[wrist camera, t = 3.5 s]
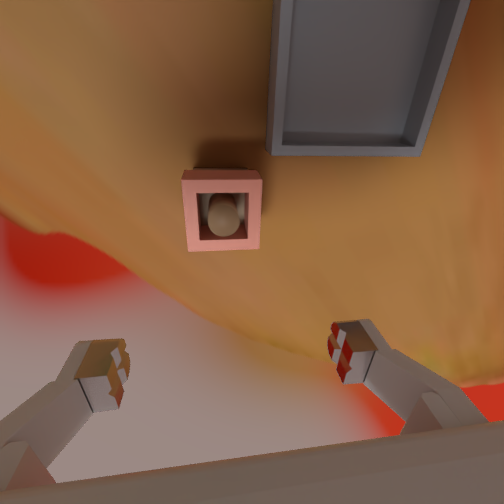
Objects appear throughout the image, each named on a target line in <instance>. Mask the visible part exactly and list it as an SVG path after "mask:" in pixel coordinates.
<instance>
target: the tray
mask: <svg viewBox="0 0 504 504" xmlns="http://www.w3.org/2000/svg"><path fill="white" fill-rule="evenodd" d="M470 1H471V0H273V10H272V29H271V49H270V68H269V87H268V107H267V126H266V146H265V150H266V151H267V152H268V153H269V154H270V155H271V156H414V157H420V155H421V152H422V149H423V146H424V143H425V140H426V137H427V134H428V131H429V128H430V124H431V121H432V118H433V115H434V112H435V109H436V106H437V103H438V100H439V97H440V94H441V91H442V87H443V84H444V81H445V78H446V75H447V72H448V69H449V66H450V63H451V60H452V57H453V54H454V50H455V47H456V44H457V41H458V38H459V35H460V32H461V29H462V26H463V23H464V20H465V17H466V13H467V10H468V7H469V4H470Z"/></svg>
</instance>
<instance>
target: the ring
mask: <svg viewBox="0 0 504 504" xmlns="http://www.w3.org/2000/svg"><path fill="white" fill-rule="evenodd" d="M181 183H182V194H183V204H184V214H185V224H186V234H187V244H188V252H190V251H216V250H243V249H259V240H260V220H261V200H262V178H261V176H260V175H259V173H258V171H257V170H184V173H183V176H182V179H181ZM199 193H245V202H244V224H241V225H239V227H238V229H237V231H236V232H235V233H233V234H232V235H230V236H218V235H216V234H214V233H213V232H212V231H211V230H210V228H209V225H203V226H201V221H200V207H199Z"/></svg>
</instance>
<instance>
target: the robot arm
mask: <svg viewBox="0 0 504 504" xmlns="http://www.w3.org/2000/svg"><path fill="white" fill-rule="evenodd" d="M330 329H331V331H332V334H331V335H330V336H329V337H328V341H327V346H328V352H329V355H330V357H331V360H332V361H334V362H335V363H336V364H337V368H336V370H337V373H338V375H339V377H340V379H341V381H342V383H343V384H353V383H364V385H366V386H367V387H368V388H369V389H370V390H371V391H372V392H373V393H374V394H376V395H377V396H378V397H379V398H380V399H381V400H382V401H383V402H384V403H386V404H387V405H388V406H389V407H390V408H391V409H392V410H393V411H395V412H396V413H397V414H398V415H399V416H400V417H401V418H402V419H403V420H405V421H406V423H405V425H404V427H403V429H402V430H401V433H400V435H397V436H389V437H382V438H376V439H368V440H362V441H354V442H347V443H340V444H333V445H326V446H318V447H312V448H304V449H297V450H290V451H282V452H276V453H269V454H262V455H254V456H248V457H240V458H234V459H226V460H219V461H212V462H205V463H197V464H190V465H184V466H176V467H169V468H162V469H156V470H148V471H141V472H134V473H126V474H120V475H112V476H105V477H98V478H91V479H84V480H77V481H70V482H63V483H56V482H55V480H54V478H53V477H52V476H51V474H50V473H49V472H48V470H47V469H46V468H47V467H48V466H49V465H50V463H51V462H52V461H53V460H54V459H55V458H56V457H57V455H58V454H59V453H60V452H61V451H62V450H63V448H64V447H65V446H66V445H67V444H68V443H69V442H70V440H71V439H72V438H73V437H74V436H75V434H76V433H77V432H78V431H79V430H80V429H81V428H82V426H83V425H84V424H85V423H86V422H87V421H88V419H89V418H90V417H91V416H92V415H93V413H94V412H101V411H109V410H116V409H119V407H120V404H121V400H122V397H123V393H124V389H123V386H122V385H123V384H124V383H125V382H126V381H127V380H128V376H129V372H130V357H129V354H128V353H127V352H125V348H126V343H125V340H124V339H104V340H91V341H79V342H78V343H76V344H75V346H74V348H73V350H72V351H71V353H70V355H69V357H68V359H67V361H66V362H65V365H64V366H63V368H62V370H61V372H60V373H59V375H58V377H57V379H56V381H54V382H50V383H48V384H47V385H46V386H44V387H43V388H42V389H41V390H39V391H38V392H37V393H36V394H34V395H33V396H32V397H30V398H29V399H28V400H27V401H25V402H24V403H23V404H21V405H20V406H19V407H18V408H16V409H15V410H14V411H12V412H11V413H10V414H9V415H7V416H6V417H5V418H3V419H2V420H1V421H0V504H504V420H503V421H496V422H489V421H488V420H487V419H486V418H485V417H484V416H483V414H482V413H481V412H480V411H479V410H478V409H477V407H476V406H475V405H474V404H473V403H472V402H471V400H470V399H469V398H468V397H467V396H466V395H465V393H464V392H463V391H462V390H461V389H460V388H459V387H457V386H456V385H454V384H452V383H451V382H449V381H448V380H446V379H444V378H443V377H441V376H439V375H438V374H436V373H434V372H433V371H431V370H429V369H428V368H426V367H424V366H423V365H421V364H419V363H418V362H416V361H414V360H413V359H411V358H409V357H408V356H406V355H404V354H403V353H401V352H399V351H398V350H396V349H391V347H390V346H389V345H388V343H387V342H386V341H385V339H384V338H383V336H382V335H381V334H380V332H379V331H378V330H377V328H376V327H375V325H374V324H373V323H372V321H371V320H369V319H360V320H349V321H337V322H333V323H332V324H331V328H330Z"/></svg>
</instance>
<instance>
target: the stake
mask: <svg viewBox="0 0 504 504" xmlns="http://www.w3.org/2000/svg"><path fill="white" fill-rule="evenodd" d="M193 170H247V168H193ZM244 202H245V193H199V207H200V221H201V226H203V225H209V228H210V230H211V231H212V232H213V233H214V234H216V235H218V236H230V235H232V234H233V233H235V232H236V231H237V229H238V227H239V225H241V224H244Z"/></svg>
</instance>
